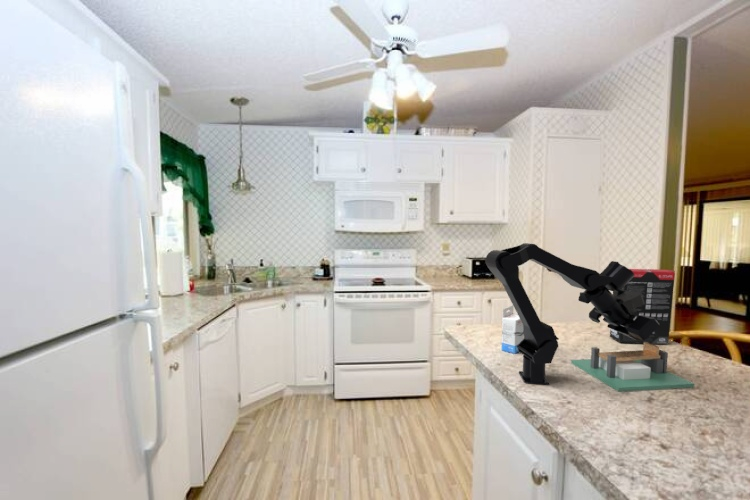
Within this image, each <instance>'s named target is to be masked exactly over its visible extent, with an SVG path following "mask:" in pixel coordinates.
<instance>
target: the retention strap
mask: <svg viewBox="0 0 750 500" xmlns="http://www.w3.org/2000/svg"><path fill="white" fill-rule="evenodd" d="M642 347H643V348H642V350H626V351H625V350H624V351H606V352H605V351H604V352H599V353H598V356H599V357H601V358H603V359H605V360H607V355H614V356H616V361H628V360H646V359H660V356H661V355H659V349H660V346H658V345H657V344H651V343H648V342H644V344H643V346H642Z"/></svg>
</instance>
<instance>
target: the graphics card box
mask: <svg viewBox="0 0 750 500" xmlns="http://www.w3.org/2000/svg"><path fill="white" fill-rule="evenodd" d="M629 269H630V270H631V271H632V272H633V273H634V277H633V278H632V279H631V280H630V281H629V282H628V283H627V284H626V285H625V286H624V287H623V288H622V289H621V290H623V291H633V292H638V293H641V295H642V298H643V301H644V303H645V304H644V305H641V306H639V307H637V308H635V309H633V311H634V313H633V314H632V315H635V316H637V317H638V316H639V315H644V316H648V317H651V318H655V319H656V320H657V321H658V323H659V325H660V326H659V327H658V328H657V329H656V330H655V331H654V332H653V333H652V334H651V335H650V336H649V337H648V338H647V339H646V340H641V339H639V340H638V341H637V340H635V339H633V338H630V337H628V336H626V335H624V334H622V333H619V332H617V331H615V330H613V329H611V328H609V329H610V331H609V333H610V334H609V337H610V338H611V339H613V340H615V341H617V342H619V343H625V344H626V343H628V344H644V342H648V343H651V344H653V345H666V346H667V345H669V340H670V331H671V329H670V328H671V316H672V308H673V296H674V287H675V275H676V271H674V270H671V269H650V268H648V269H647V268H629Z"/></svg>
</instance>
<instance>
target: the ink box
mask: <svg viewBox="0 0 750 500" xmlns="http://www.w3.org/2000/svg"><path fill="white" fill-rule="evenodd" d="M514 309H515V308H514V306H513V305H510V306H507V307H504V308H503V311H502V321H501V323H502V324H501V351H503V352H507V353H511V354H514V355H516V354H517V353H519V351H518V348H517V345H518V344H519V343H520V342H521V341H522V340H523V339H524V338H525V337H524V334H523V323H522V321H521V320H520V318H519V316H518V314H517V313H514ZM508 310H509V311H508Z"/></svg>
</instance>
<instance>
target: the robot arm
mask: <svg viewBox="0 0 750 500" xmlns="http://www.w3.org/2000/svg"><path fill="white" fill-rule="evenodd" d="M484 261H485V265H486V266H487V267H486V268H488V269H489V271H490V272H491V273H492V274H493V276H494V278H497V280H498V281H499V282H500V283H501V284H502V286H503V288H504V289H505V292H506V294H507V296H508V298H509V300H510V302H511V304H512V306H514V308H513V309H514V310H515V311H516V314H518V316H519V318H520V320H521V321H522V323H523V334H524V337H525V338H524V339H523V340H522V341H521V342H520V343H519V344H518V345H517V348H518V351H519V352H518V353H519V354H521V355H522V371H521V370H519V371H518V374H519V376H520V377H521V379H522V381H523V382H524V383H526V384H537V385H538V384H539V385H550V381H549V380H548V378H547V377H546V364H552V361H553V359H554V357H555V354H556V352H557V350H558V348H559V342H558V340H559V339H560V338H559V337H558V336H557V335H556V333H555V329H554V328H553V326H551V325H549V324H548V323H545V322H543V321H541V320H540V317H539V316H538V314H537V311H536V309H535V308H534V305H533V304H532V302H531V300H530V297H529V296H528V294H527V292H526V290H525V288H524V286H523V284H522V281H521V280H520V272H519V271H520V268H519V266H521V265H525V263H527V262H529V261H532V262H533V263H535V264H538V265H539V266H541V267H543V268H546V269H548V270H550V271H551V272H554V273H555V274H558V275H559V276H560V277H561V278H562V280H564V282H566V283H567V284H569V286H571V287H574V288H579V289H581V290H584V291H583V292H579V296H578V302H581V303H585V304H587V305H588V304H589V303H590V304H592V306H593V308H592V309H591V310H590V311H589V313H588V318H589V319H590V320H591V321H592V322H594V323H596V324H600V323H601V320H600V318H601V317H603V318H602V320H603V321H604V323H607V326H606V327H607V328H609V329H613V330H615V331H617V332H619V333H622V334H624V335H626V336H628V337H630V338H633V339H635V340H637V341H638V340H639V339H641V340H646V339H647V338H648V337H649V336H650V335H651V334H652V333H653V332H654V331H655V330H656V329H657V328H658V327H659V326H660V325H659V323H658V321H657V320H656V319H655V318H651V317H648V316H644V315H639V316H638V317H637V316H635V315H632V314H633V313H634V311H633V309H635V308H637V307H639V306H641V305H644V304H645V303H644V301H643V298H642V295H641V293H638V292H633V291H623V290H621V289H622V288H623V287H624V286H625V285H626V284H627V283H628V282H629V281H630V280H631V279H632V278H633V277H634V273H633V272H632V271H631V270H630V269H631V268H628V267H626V266H625V265H623V264H620V263H619V261H614V260H611V261H610V262H609V264H608V265H607V267H605V268H604V269H603V270H602V272H601V271H600V272H598V271H597V270H594V269H591V268H587V267H584V266H581V265H576V264H572V263H570V262H568V261H566V260H565V259H563V258H561V257H559V256H557V255H554V254H553V253H551V252H549V251H547V250H545V249H543V248H541V247H539V246H538V245H536V244H535V243H526V242H525V243H522V244H519V245H516V246H513V247H508V248H505V249H500V250H498V249H494V250H491V251H490V252H488V253H487V255H486V257H485V259H484Z"/></svg>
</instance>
